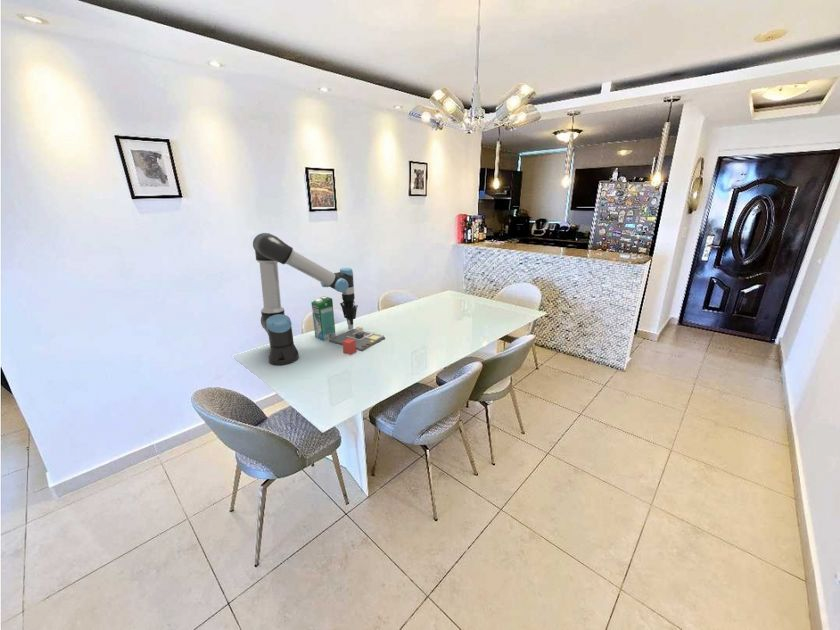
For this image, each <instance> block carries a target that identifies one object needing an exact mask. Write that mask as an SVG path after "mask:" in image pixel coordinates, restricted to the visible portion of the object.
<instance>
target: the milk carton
mask: <svg viewBox="0 0 840 630" xmlns="http://www.w3.org/2000/svg"><path fill="white" fill-rule="evenodd" d="M310 303H311V311H312V318H313V321H312V322H313V328H314V337H315V338H316V339H319V340H320V341H322V342H324V341H327V340H329V339H331V338H334V337H336V336H337V335H336V326H335V325H336V324H335V314H334V302H333V298H332V297H329V296H326V295H323V296H321V297H318V298H317V299H315V300H313V301H311V302H310Z"/></svg>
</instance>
